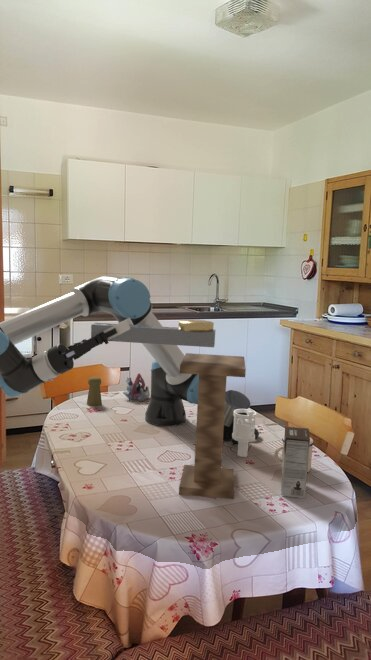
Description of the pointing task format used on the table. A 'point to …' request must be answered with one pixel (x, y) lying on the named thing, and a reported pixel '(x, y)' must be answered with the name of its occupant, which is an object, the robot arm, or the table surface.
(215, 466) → the walnut stand
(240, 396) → the milk frother
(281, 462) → the teacup with lid
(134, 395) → the pink and grey figurine
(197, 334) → the dark grey bar
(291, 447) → the coffee box
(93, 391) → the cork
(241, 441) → the strainer
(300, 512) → the table surface
